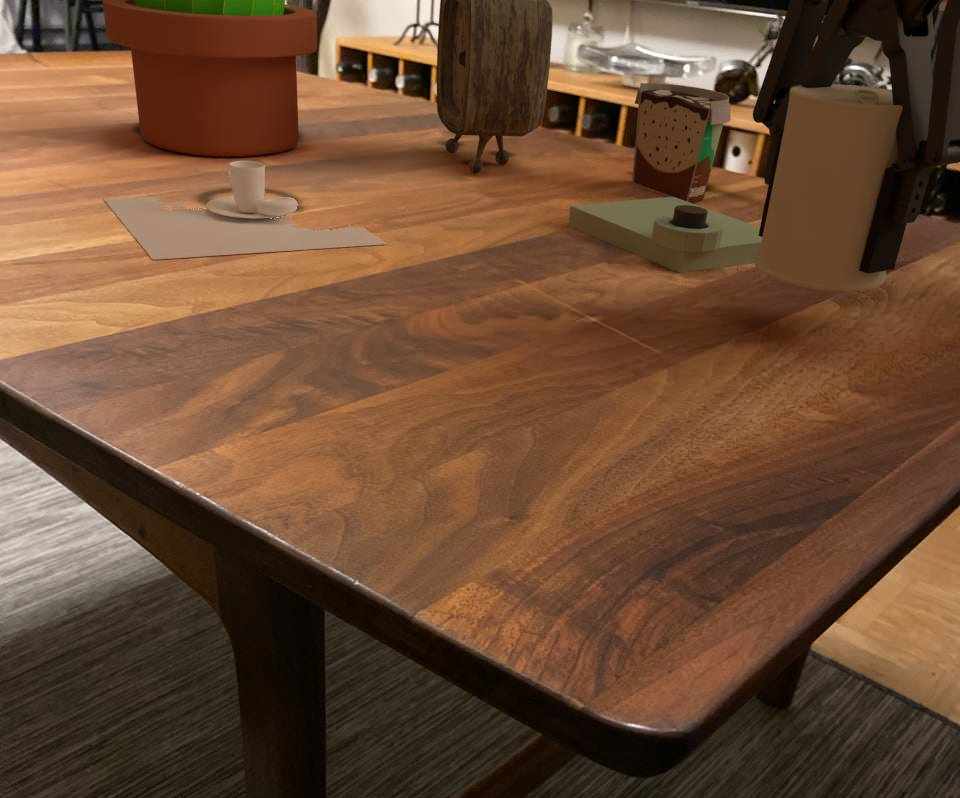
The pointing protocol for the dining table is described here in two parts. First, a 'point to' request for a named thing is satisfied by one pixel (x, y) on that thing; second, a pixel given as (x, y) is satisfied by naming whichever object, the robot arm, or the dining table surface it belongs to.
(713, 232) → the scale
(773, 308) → the dining table surface
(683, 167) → the food container
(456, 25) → the tabletop clock
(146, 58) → the potted cactus
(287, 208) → the teacup and saucer
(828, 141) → the can
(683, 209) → the tare button
